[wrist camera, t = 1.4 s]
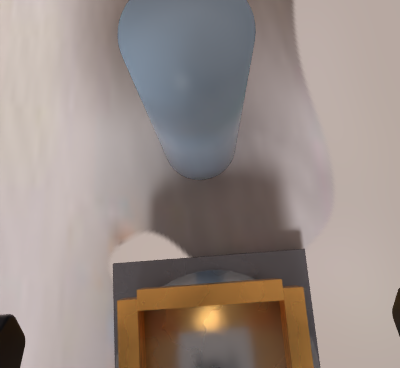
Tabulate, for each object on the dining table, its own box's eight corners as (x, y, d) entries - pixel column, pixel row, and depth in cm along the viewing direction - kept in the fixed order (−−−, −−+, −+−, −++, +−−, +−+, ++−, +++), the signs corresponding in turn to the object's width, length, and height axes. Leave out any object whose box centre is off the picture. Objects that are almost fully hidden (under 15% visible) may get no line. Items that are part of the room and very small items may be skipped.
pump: (238, 176, 23) (262, 87, 12) (166, 182, 23) (119, 99, 12) (229, 84, 25) (243, -78, 13) (161, 90, 25) (114, -66, 13)
